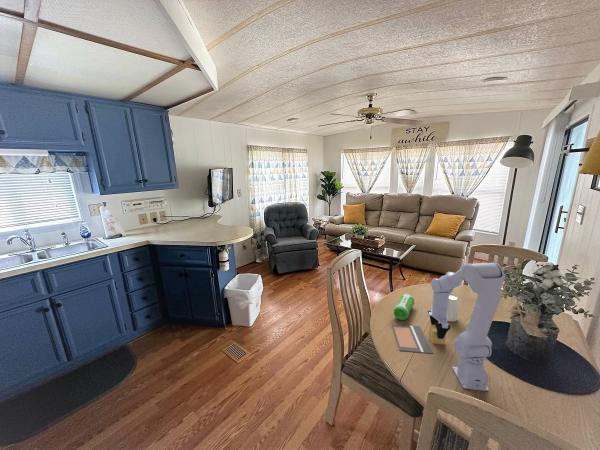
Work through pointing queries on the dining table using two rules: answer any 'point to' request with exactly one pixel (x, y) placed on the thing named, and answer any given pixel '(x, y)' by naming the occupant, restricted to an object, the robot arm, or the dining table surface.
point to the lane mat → (411, 339)
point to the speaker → (404, 307)
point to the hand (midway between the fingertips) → (437, 332)
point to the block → (435, 335)
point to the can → (452, 308)
